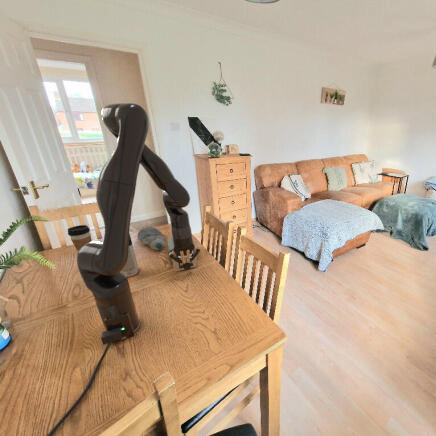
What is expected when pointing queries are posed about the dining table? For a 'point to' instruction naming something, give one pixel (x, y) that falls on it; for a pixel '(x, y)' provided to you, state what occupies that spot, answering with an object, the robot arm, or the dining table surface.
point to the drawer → (179, 266)
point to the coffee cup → (79, 236)
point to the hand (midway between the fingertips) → (187, 268)
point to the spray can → (130, 262)
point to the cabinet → (172, 246)
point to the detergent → (151, 237)
